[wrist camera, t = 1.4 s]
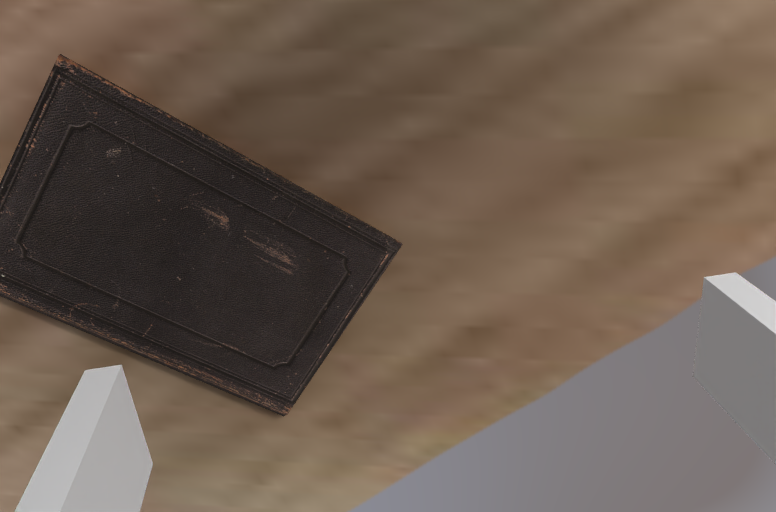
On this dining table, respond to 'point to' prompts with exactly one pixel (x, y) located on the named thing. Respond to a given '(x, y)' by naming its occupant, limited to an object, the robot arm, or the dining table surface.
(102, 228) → the hardcover book
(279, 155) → the dining table surface
